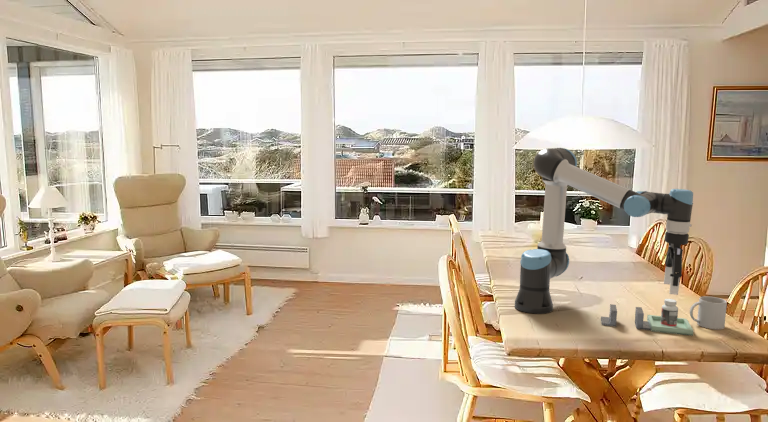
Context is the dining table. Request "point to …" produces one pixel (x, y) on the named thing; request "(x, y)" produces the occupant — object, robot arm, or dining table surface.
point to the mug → (710, 312)
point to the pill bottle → (669, 313)
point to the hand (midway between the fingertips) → (670, 289)
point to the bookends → (638, 318)
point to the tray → (681, 328)
